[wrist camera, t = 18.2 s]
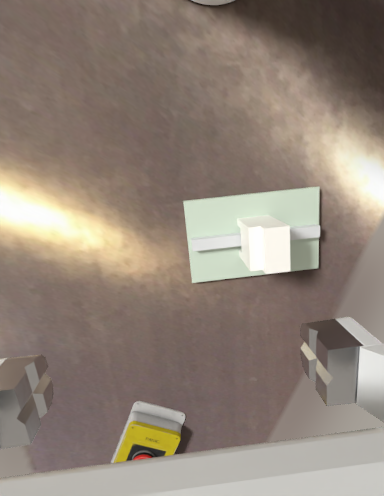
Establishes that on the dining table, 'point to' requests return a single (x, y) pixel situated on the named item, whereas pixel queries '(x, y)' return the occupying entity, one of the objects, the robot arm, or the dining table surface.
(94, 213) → the dining table surface
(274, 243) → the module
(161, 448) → the emergency button
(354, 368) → the robot arm
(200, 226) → the rail board
